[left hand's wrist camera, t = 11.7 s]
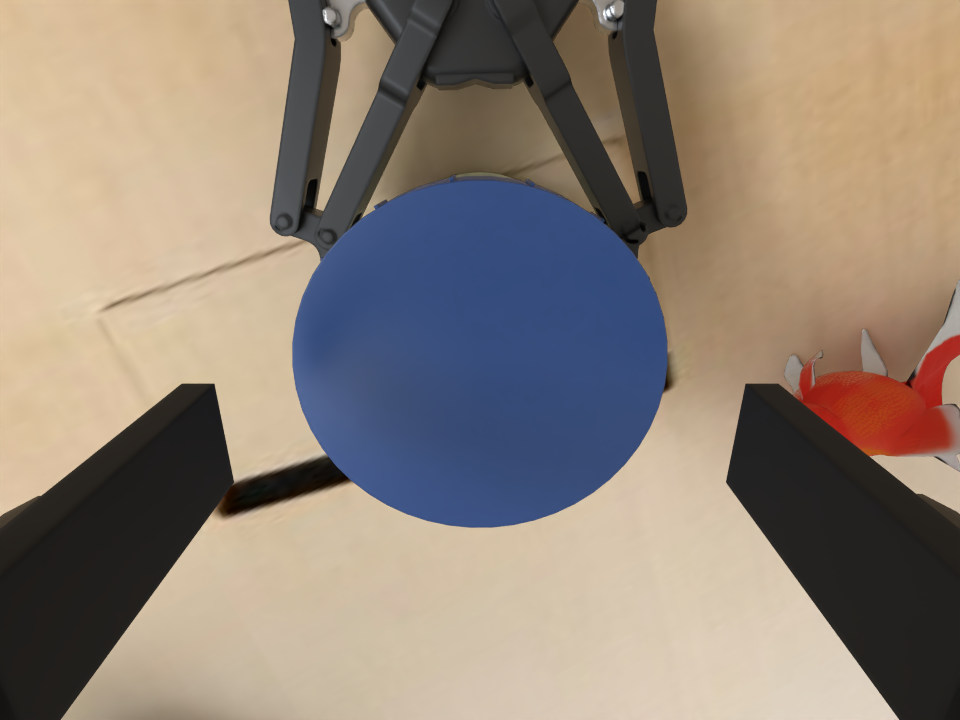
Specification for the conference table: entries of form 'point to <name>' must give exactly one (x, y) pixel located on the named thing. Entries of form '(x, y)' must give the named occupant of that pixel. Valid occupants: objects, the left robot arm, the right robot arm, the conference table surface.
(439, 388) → the lid
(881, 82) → the conference table surface
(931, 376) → the fish
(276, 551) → the conference table surface
